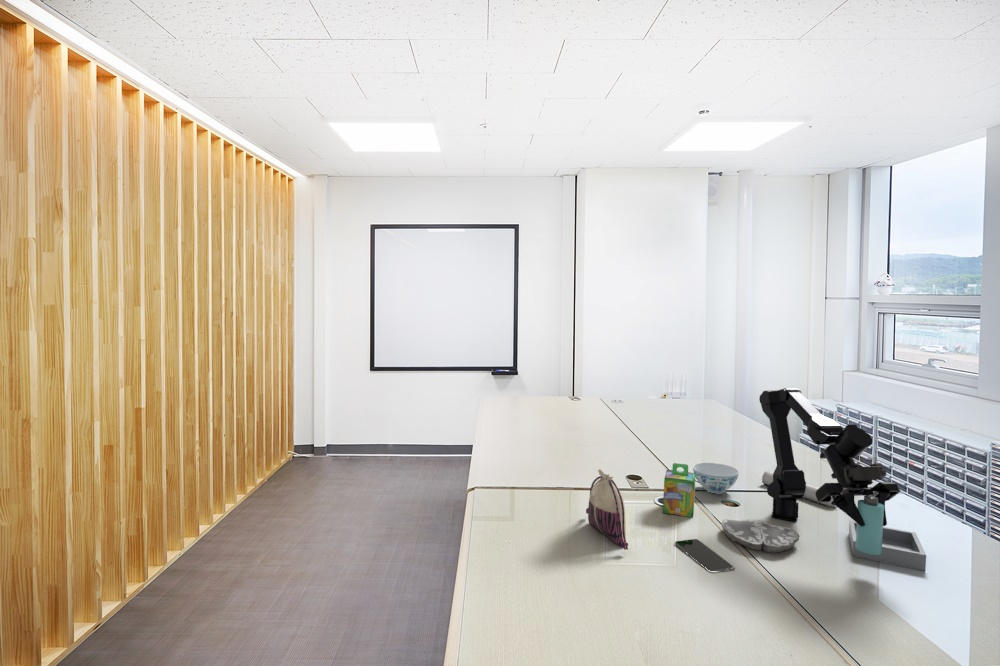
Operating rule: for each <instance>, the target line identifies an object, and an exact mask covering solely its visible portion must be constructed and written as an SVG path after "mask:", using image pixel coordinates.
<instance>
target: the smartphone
mask: <svg viewBox="0 0 1000 666" xmlns="http://www.w3.org/2000/svg"><path fill="white" fill-rule="evenodd" d="M674 545H677V546H676V547H678V546H679V547H680V548H681V549H682V550H681V549H680V548H679V547H678V548H679V549H680V550H681V551H683V550H684V551H685V552H687V553H688V554H689V555H691V556H692V557H693V558H694V559H695V560H697V561H698V562H699V563H700V564H702V565H703V566H704V567H706V568H707V569H708V570H710V571H722V572H726V571H725V570H730V571H735V570H734V569H736V568H735V566H733V564H731V563H729V561H727V560H726V559H724V558H723V557H722V556H720V555H719V554H718V553H717V552H715V551H714V550H712V549H711V548H710V547H708V546H707V545H706V544H704V543H703V542H702V541H701V540H699V539H697V538H693V539H684V540H677V541H675V542H674ZM684 551H683V552H684ZM685 552H684V553H685ZM689 555H688V556H689ZM694 559H693V560H694ZM695 560H694V561H695ZM699 563H698V564H699ZM700 564H699V565H700ZM704 567H703V568H704Z"/></svg>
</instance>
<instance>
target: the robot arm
mask: <svg viewBox="0 0 1000 666" xmlns="http://www.w3.org/2000/svg"><path fill="white" fill-rule="evenodd" d="M759 403H760V406H761V409H762V410H761V411H762V412H763V413H764V414H765V415H766V417H767V418H768V420H769V424H770V430H771V436H772V437H771V438H772V443H773V449H774V455H775V462H776V466H775V469H774V471H773V472H772V473H773V482H772V483H771V484H770V485H767V487H766V492H767V495H768V496H769V497H771V498H772V513H771V518H773V519H779V520H784V521H788V522H797V519H798V518H799V502H797V500H803V499H804V498H803V496H804V493H805V490H806V484H807V482H806V479H805V472H804V470H802V469H800V468H798V467H797V466H796V462H795V457H794V452H793V446H792V439H791V434H790V428H789V427H790V426H789V424H788V423H789V421H788V416H789V414H790V412H791V410H792V411H793V412H794V413H795V414H796V416H798V417H799V418H800V420H801V421H802V422H803V423H804V424H805V425H806V433H807V435H808V436H809V438H810V439H811V441H812V442H813V444H815V445H821V446H822V445H826V446H827V445H828V446H827V447H826V448H825V447H822V448H821V452H820V454H819V459H823V460H824V459H826V461H827V463H828V465H829V467H830V469H831V471H832V472H833V473H832V474H830V475H831V478H832V479H833V480H835V479H836V480H837V482H825V483H823V484H822V485H821V486H819V487H818V488H819V489H818V490H817V491H816V497H817V500H818V502H830V501H831V499H832V498H833V500H834V501H833V502H831V504H832V505H835V506H834V507H837V508H838V509H839V510H841V511H842V512H843V513H844V514H846V515H847V516H848V517H850V518H851V520H852V521H854V522H856V523H858V524H859V525H860V526H861V527H863V526H864V525H865V524H864V521H863V518H862V516H861V514H860V512H859V510H858V505H856V502H855V497H856V496H857V497H858V496H860V497H862V496H863V497H864V496H874V497H876V498H878V502H879V503H881V504H883V505H884V516H883V527H886V526H888V523H887V522H888V521H887V515H886V502H887V501H890V500H891V499H892V498H895V497H896V496H897V495H898V494H900V493H901V490H900V488H899V486H898V484H897V483H896V482H893V481H882V480H883V478H884V477H886V476H887V470H886V468H885V467H884V465H883V464H882V462H881V463H871V464H870V465H869V466H863V465H861V464H857V463H856V461H855V460H854V458H857V457H859V456H860V455H861V454H862V453H864V452H865V451H866V450H867V449H868V448H869V447H870V446H871V445H872V444H873V439H872V436H871V435H870V434H869V433H868V432H867V431H866V430H864V429H863V428H860V427H858V426H857V424H856V423H848V424H847V425H846V426H845V427H844V428H843V426H841V424H840V423H838V422H837V421H835V420H834V419H832V418H829V417H827V416H825V415H823V414H821V412H820V411H819V410H818V409H817V408H816V407H815V406H814V405H813V404H812V403H811V402H810V401H809V400H808V399H807V398H806V397H805V396H804V394H803V393H802V391H801V390H800V388H796V387H784V388H782V389H778V390H777V389H776V390H763V391H762V393H761V394H760V395H759ZM882 477H883V478H882ZM877 480H878V481H879V482H878V483H877V484H875V485H874V486H871V485H872V484H873V483H874V482H873V481H877ZM869 486H870V487H869ZM831 496H832V498H831Z"/></svg>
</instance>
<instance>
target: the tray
mask: <svg viewBox="0 0 1000 666" xmlns="http://www.w3.org/2000/svg"><path fill="white" fill-rule="evenodd" d="M848 522H849V525H848V538H849V544H850V548H851V549H850V550H851V555H852V557H856V558H862V559H865V558H866V560H870V561H875V562H880V561H881V563H884V562H885V564H889V563H890V564H891V565H895V566H899V565H900V566H899V567H904V566H905V568H908V567H909V568H908V569H913V568H914V569H915V570H918V569H920V570H919V571H923V570H925V571H926V569H927V568H926V565H927V554H926V551H925V550H924V548H923V545H922V543H921V541H920V539H919V537H918V535H917V533H916V532H915V531H910V530H903V529H898V528H893V527H886V526H883V535H882V553H881V554H879V555H872V554H867V553H864V552H861V551H859V550H858V549H857V548H856V529H857V523H856V522H855V521H854V520H849V521H848Z"/></svg>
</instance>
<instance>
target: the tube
mask: <svg viewBox="0 0 1000 666" xmlns="http://www.w3.org/2000/svg"><path fill="white" fill-rule="evenodd" d="M773 473H774V472H771V471H770V470H767V471H766V470H765V471H764V472H763V474H762V477H761V482H762V483H763V485H765V484H767V485H766V486H769V485H770V484H771V483H772V482H773ZM819 488H820V487H818V486H814V485H812V484H807V483H806V490H805V493H804V496H803V497H804V498H803V499H806V498H807V500H809V499H810V500H809V501H812V500H813V501H812V502H814V501H816V502H815V503H817V502H818V500H817V497H816V491H817V490H818V489H819ZM831 498H832V496H831ZM833 501H834V500H833V498H832V499H831V501H830V502H819V503H818V504H820V503H821V505H823V504H824V506H826V505H827V506H826V507H829V506H832V507H833V508H834V507H836V506H835V505H832V504H831V502H833ZM832 507H831V508H832Z"/></svg>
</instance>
